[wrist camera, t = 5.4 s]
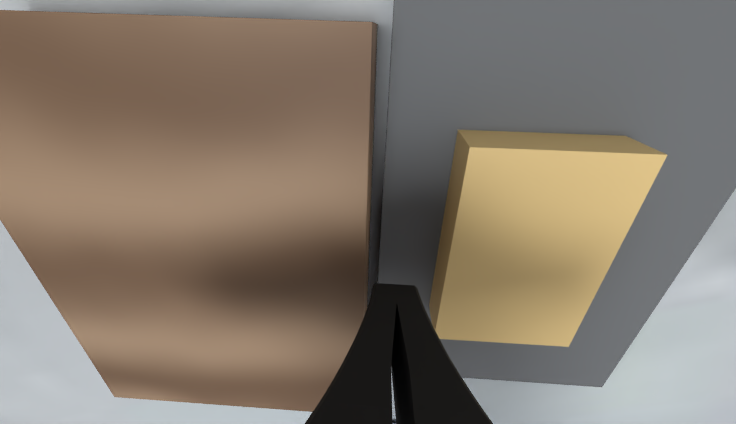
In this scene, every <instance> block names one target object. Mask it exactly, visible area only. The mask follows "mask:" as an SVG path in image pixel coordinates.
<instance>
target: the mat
mask: <svg viewBox="0 0 736 424" xmlns="http://www.w3.org/2000/svg"><path fill="white" fill-rule="evenodd" d="M458 130H480V131H508V132H535V133H563V134H590V135H617V136H627V137H629V138H632V139H634V140H636V141H638V142H640V143H643V144H645V145H647V146H649V147H651V148H654V149H656V150H658V151H660V152H663V153H665V154H667V157H666V159H665V161H664V163H663V165H662V167H661V169H660V171H659V173H658V174H657V176H656V178H655V180H654V182H653V184H652V186H651V188H650V190H649V192H648V194H647V196H646V198H645V200H644V202H643V204H642V205H641V207H640V209H639V211H638V213H637V215H636V217H635V219H634V221H633V223H632V225H631V227H630V229H629V231H628V233H627V235H626V237H625V238H624V240H623V242H622V244H621V246H620V248H619V250H618V252H617V254H616V256H615V258H614V260H613V262H612V264H611V266H610V268H609V270H608V271H607V273H606V275H605V277H604V279H603V281H602V283H601V285H600V287H599V289H598V291H597V293H596V295H595V297H594V299H593V301H592V303H591V304H590V306H589V308H588V310H587V312H586V314H585V316H584V318H583V320H582V322H581V324H580V326H579V328H578V330H577V332H576V334H575V336H574V337H573V339H572V341H571V343H570V345H569V347H563V346H547V345H531V344H514V343H498V342H482V341H465V340H449V339H440V341H441V343H442V345H443V346H444V348H445V350H446V352H447V354H448V356H449V357H450V359H451V361H452V362H453V364H454V366H455V367H456V369H457V371H458V373H459V374H460V376H461V377H463V378H478V379H492V380H506V381H521V382H535V383H550V384H564V385H578V386H593V387H602V386H603V385H604V383H605V382H606V380H607V379H608V377H609V376H610V374H611V373H612V372H613V370H614V369H615V367H616V366H617V364H618V363H619V361H620V360H621V358H622V357H623V355H624V354H625V352H626V351H627V349H628V348H629V346H630V345H631V343H632V342H633V340H634V339H635V337H636V336H637V334H638V333H639V331H640V330H641V328H642V327H643V325H644V324H645V322H646V321H647V319H648V318H649V316H650V315H651V313H652V312H653V310H654V309H655V307H656V306H657V305H658V303H659V302H660V300H661V299H662V297H663V296H664V294H665V293H666V291H667V290H668V288H669V287H670V285H671V284H672V282H673V281H674V279H675V278H676V276H677V275H678V273H679V272H680V270H681V269H682V267H683V266H684V264H685V263H686V261H687V260H688V258H689V257H690V255H691V254H692V252H693V251H694V249H695V248H696V246H697V245H698V243H699V242H700V240H701V239H702V237H703V236H704V235H705V233H706V232H707V230H708V229H709V227H710V226H711V224H712V223H713V221H714V220H715V218H716V217H717V215H718V214H719V212H720V211H721V209H722V208H723V206H724V205H725V203H726V202H727V200H728V199H729V197H730V196H731V194H732V193H733V191H734V190H735V188H736V0H394V11H393V28H392V46H391V63H390V80H389V97H388V115H387V132H386V149H385V167H384V184H383V201H382V218H381V236H380V253H379V270H378V283H383V284H400V285H415V286H416V287H417V288H418V292H419V295H420V297H421V300H422V303H423V305H424V307H425V310H426V312H427V314H428V317H429V319H430V321H431V315H430V309H429V303H430V297H431V291H432V284H433V278H434V272H435V266H436V260H437V254H438V248H439V242H440V235H441V229H442V223H443V217H444V211H445V205H446V199H447V193H448V187H449V180H450V174H451V168H452V162H453V156H454V150H455V144H456V138H457V132H458ZM431 323H432V322H431ZM391 372H392V367H391Z"/></svg>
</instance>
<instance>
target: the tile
mask: <svg viewBox="0 0 736 424" xmlns="http://www.w3.org/2000/svg"><path fill="white" fill-rule="evenodd" d="M666 157H667V154H665V153H663V152H660V151H658V150H656V149H654V148H651V147H649V146H647V145H645V144H643V143H640V142H638V141H636V140H634V139H632V138H629V137H627V136H617V135H590V134H563V133H535V132H508V131H480V130H458V132H457V138H456V144H455V150H454V156H453V162H452V168H451V174H450V180H449V187H448V193H447V199H446V205H445V211H444V217H443V223H442V229H441V235H440V242H439V248H438V254H437V260H436V266H435V272H434V278H433V284H432V291H431V297H430V303H429V309H430V315H431V322H432V325H433V327H434V329H435V331H436V333H437V335H438V337H439V339H449V340H465V341H482V342H498V343H514V344H531V345H547V346H563V347H569V345H570V343H571V341H572V339H573V337H574V336H575V334H576V332H577V330H578V328H579V326H580V324H581V322H582V320H583V318H584V316H585V314H586V312H587V310H588V308H589V306H590V304H591V303H592V301H593V299H594V297H595V295H596V293H597V291H598V289H599V287H600V285H601V283H602V281H603V279H604V277H605V275H606V273H607V271H608V270H609V268H610V266H611V264H612V262H613V260H614V258H615V256H616V254H617V252H618V250H619V248H620V246H621V244H622V242H623V240H624V238H625V237H626V235H627V233H628V231H629V229H630V227H631V225H632V223H633V221H634V219H635V217H636V215H637V213H638V211H639V209H640V207H641V205H642V204H643V202H644V200H645V198H646V196H647V194H648V192H649V190H650V188H651V186H652V184H653V182H654V180H655V178H656V176H657V174H658V173H659V171H660V169H661V167H662V165H663V163H664V161H665V159H666Z"/></svg>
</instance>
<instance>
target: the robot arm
mask: <svg viewBox="0 0 736 424" xmlns="http://www.w3.org/2000/svg"><path fill="white" fill-rule="evenodd" d="M391 367H392V378H393V390H394V402H395V413H396V423H392V392H391ZM305 424H493V423H492V422H491V420H490V419H489V417H488V416H487V415H486V413H485V412H484V411H483V409H482V408H481V406H480V405H479V403H478V402H477V400H476V399H475V397H474V396H473V394H472V393H471V392H470V390H469V388H468V387H467V385H466V384H465V382H464V381H463V379H462V377H461V376H460V374H459V373H458V371H457V369H456V367H455V366H454V364H453V362H452V361H451V359H450V357H449V356H448V354H447V352H446V350H445V348H444V346H443V345H442V343H441V341H440V339H439V337H438V335H437V333H436V331H435V329H434V327H433V325H432V323H431V321H430V319H429V317H428V314H427V312H426V310H425V307H424V305H423V303H422V300H421V297H420V295H419V292H418V288H417V287H416V286H415V285H400V284H383V283H376V284H374V285H373V288H372V294H371V298H370V301H369V305H368V308H367V310H366V313H365V316H364V318H363V321H362V323H361V325H360V328H359V330H358V332H357V335H356V337H355V339H354V341H353V343H352V345H351V347H350V349H349V351H348V353H347V355H346V357H345V359H344V361H343V363H342V365H341V367H340V368H339V370H338V372H337V374H336V375H335V377H334V379H333V381H332V382H331V384H330V386H329V387H328V389H327V391H326V392H325V394H324V395H323V397H322V399H321V400H320V402H319V403H318V405H317V406H316V408H315V409H314V411H313V412H312V414H311V415H310V417H309V418H308V420H307V421H306V423H305Z"/></svg>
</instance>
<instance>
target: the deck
mask: <svg viewBox="0 0 736 424" xmlns="http://www.w3.org/2000/svg"><path fill="white" fill-rule="evenodd" d="M377 26H378V24H376V23H373V22H355V21H324V20H293V19H262V18H230V17H199V16H168V15H137V14H105V13H74V12H43V11H11V10H0V220H1V222H2V223H3V225H4V226H5V228H6V229H7V231H8V232H9V234H10V236H11V237H12V239H13V240H14V242H15V243H16V245H17V246H18V248H19V249H20V251H21V253H22V254H23V256H24V257H25V259H26V260H27V262H28V263H29V265H30V267H31V268H32V270H33V271H34V273H35V274H36V276H37V277H38V279H39V281H40V282H41V284H42V285H43V287H44V288H45V290H46V291H47V293H48V294H49V296H50V298H51V299H52V301H53V302H54V304H55V305H56V307H57V308H58V310H59V312H60V313H61V315H62V316H63V318H64V319H65V321H66V322H67V324H68V326H69V327H70V329H71V330H72V332H73V333H74V335H75V336H76V338H77V339H78V341H79V343H80V344H81V346H82V347H83V349H84V350H85V352H86V353H87V355H88V357H89V358H90V360H91V361H92V363H93V364H94V366H95V367H96V369H97V371H98V372H99V374H100V375H101V377H102V378H103V380H104V381H105V383H106V384H107V386H108V388H109V389H110V391H111V392H112V394H113V395H114V397H122V398H136V399H149V400H162V401H176V402H189V403H203V404H216V405H230V406H243V407H256V408H270V409H283V410H297V411H310V412H313V411H314V409H315V408H316V406H317V405H318V403H319V402H320V400H321V399H322V397H323V395H324V394H325V392H326V391H327V389H328V387H329V386H330V384H331V382H332V381H333V379H334V377H335V375H336V374H337V372H338V370H339V368H340V367H341V365H342V363H343V361H344V359H345V357H346V355H347V353H348V351H349V349H350V347H351V345H352V343H353V341H354V339H355V337H356V335H357V332H358V330H359V328H360V325H361V323H362V321H363V318H364V316H365V313H366V310H367V294H368V268H369V241H370V214H371V187H372V160H373V134H374V107H375V80H376V53H377Z"/></svg>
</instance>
